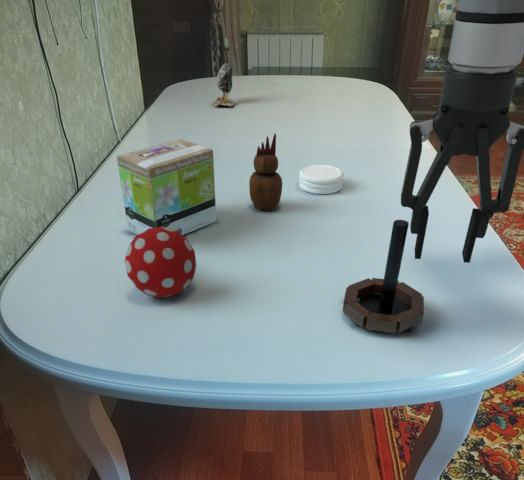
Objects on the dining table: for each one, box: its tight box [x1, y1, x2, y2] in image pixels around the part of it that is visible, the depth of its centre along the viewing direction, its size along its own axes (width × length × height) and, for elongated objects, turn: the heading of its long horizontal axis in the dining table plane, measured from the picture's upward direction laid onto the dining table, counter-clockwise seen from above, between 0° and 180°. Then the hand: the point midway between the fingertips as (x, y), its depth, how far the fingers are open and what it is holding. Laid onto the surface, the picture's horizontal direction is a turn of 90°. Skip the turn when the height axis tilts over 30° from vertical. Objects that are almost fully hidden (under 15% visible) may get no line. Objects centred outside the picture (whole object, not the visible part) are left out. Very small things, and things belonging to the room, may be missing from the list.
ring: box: [342, 277, 425, 334], centre depth 76 cm, size 12×12×2 cm
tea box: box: [116, 138, 217, 236], centre depth 96 cm, size 15×10×15 cm, turn 137°
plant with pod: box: [212, 37, 236, 107], centre depth 169 cm, size 8×11×20 cm
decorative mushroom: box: [124, 227, 197, 299], centre depth 82 cm, size 11×11×15 cm
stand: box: [355, 219, 414, 333], centre depth 73 cm, size 8×8×15 cm
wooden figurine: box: [248, 133, 283, 211], centre depth 103 cm, size 7×6×15 cm
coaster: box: [298, 164, 344, 195], centre depth 116 cm, size 10×10×4 cm
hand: (441, 255), depth 70 cm, fingers open, 6 cm apart
